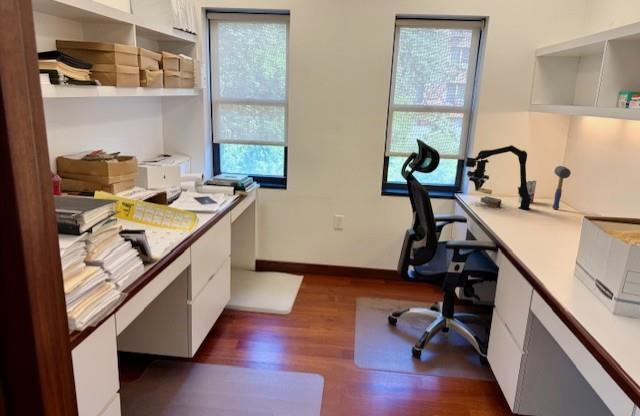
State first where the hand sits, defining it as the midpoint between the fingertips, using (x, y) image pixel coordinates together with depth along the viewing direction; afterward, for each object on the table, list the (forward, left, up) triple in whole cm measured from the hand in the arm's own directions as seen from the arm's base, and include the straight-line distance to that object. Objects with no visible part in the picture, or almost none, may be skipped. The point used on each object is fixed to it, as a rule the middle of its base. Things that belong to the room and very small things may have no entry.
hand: (477, 190), depth 308 cm
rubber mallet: (-30, +44, -9) cm, 54 cm away
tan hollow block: (0, +14, -9) cm, 16 cm away
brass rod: (0, +4, -1) cm, 4 cm away
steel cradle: (-9, +7, -9) cm, 14 cm away
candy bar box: (-34, +22, -9) cm, 41 cm away
